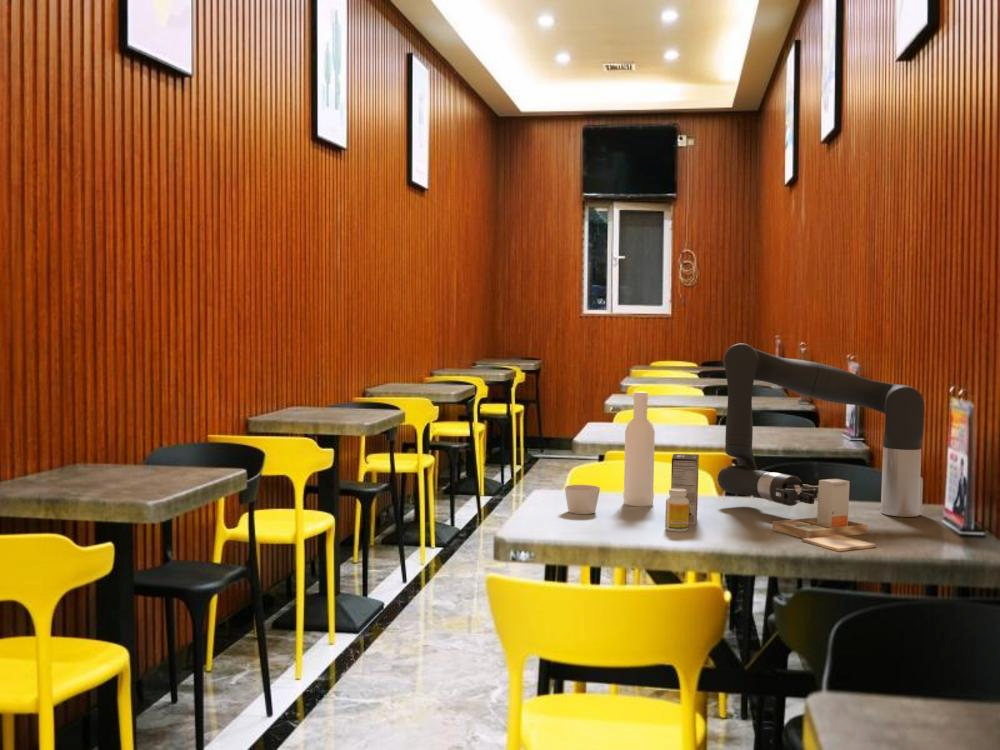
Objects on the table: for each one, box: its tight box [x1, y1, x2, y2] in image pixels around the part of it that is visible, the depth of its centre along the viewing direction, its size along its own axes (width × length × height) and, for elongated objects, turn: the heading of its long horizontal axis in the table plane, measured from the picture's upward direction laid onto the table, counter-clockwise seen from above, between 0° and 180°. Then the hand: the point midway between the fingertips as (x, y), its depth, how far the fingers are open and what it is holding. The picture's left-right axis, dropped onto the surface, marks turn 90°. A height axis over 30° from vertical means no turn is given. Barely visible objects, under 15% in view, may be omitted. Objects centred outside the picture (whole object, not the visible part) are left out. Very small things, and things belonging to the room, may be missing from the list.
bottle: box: [622, 391, 656, 508], centre depth 275 cm, size 8×8×30 cm
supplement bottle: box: [664, 487, 689, 533], centre depth 242 cm, size 5×5×10 cm
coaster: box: [801, 535, 877, 552], centre depth 228 cm, size 11×11×1 cm
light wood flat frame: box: [772, 516, 869, 539], centre depth 242 cm, size 18×12×2 cm, turn 117°
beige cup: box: [564, 484, 601, 515], centre depth 263 cm, size 9×9×6 cm
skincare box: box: [816, 478, 850, 528], centre depth 243 cm, size 6×4×12 cm
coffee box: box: [670, 453, 700, 526], centre depth 252 cm, size 9×6×16 cm
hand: (827, 498), depth 245 cm, fingers open, 8 cm apart
